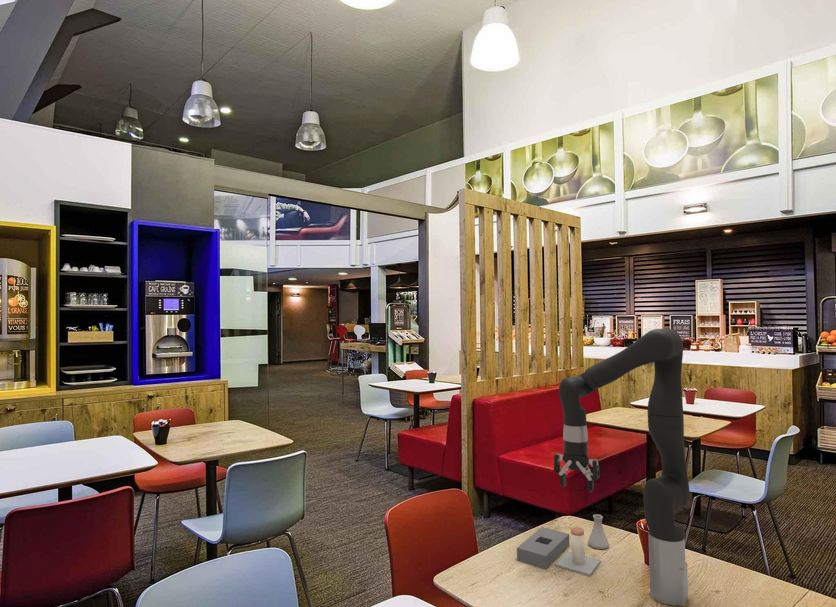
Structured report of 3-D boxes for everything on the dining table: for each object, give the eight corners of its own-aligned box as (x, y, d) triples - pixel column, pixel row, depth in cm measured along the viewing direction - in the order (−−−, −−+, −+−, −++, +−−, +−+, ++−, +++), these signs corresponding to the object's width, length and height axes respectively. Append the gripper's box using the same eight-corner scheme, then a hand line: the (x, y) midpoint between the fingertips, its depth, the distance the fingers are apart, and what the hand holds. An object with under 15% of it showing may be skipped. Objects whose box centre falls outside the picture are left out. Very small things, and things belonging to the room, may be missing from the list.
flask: (612, 550, 171) (612, 520, 172) (591, 550, 171) (590, 520, 172) (605, 540, 179) (604, 512, 179) (584, 540, 179) (584, 512, 179)
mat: (601, 562, 163) (601, 560, 163) (589, 576, 154) (589, 574, 154) (567, 552, 170) (567, 550, 170) (555, 565, 161) (555, 564, 161)
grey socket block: (569, 545, 175) (569, 533, 175) (546, 569, 159) (545, 556, 159) (542, 538, 181) (541, 526, 181) (517, 560, 165) (516, 547, 165)
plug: (587, 560, 163) (585, 529, 163) (582, 565, 159) (581, 533, 160) (574, 557, 165) (573, 526, 165) (570, 562, 162) (569, 530, 162)
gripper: (601, 439, 163) (602, 490, 162) (558, 433, 171) (559, 482, 171) (593, 443, 157) (595, 496, 156) (549, 438, 165) (551, 488, 165)
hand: (576, 489), depth 164 cm, fingers open, 8 cm apart
